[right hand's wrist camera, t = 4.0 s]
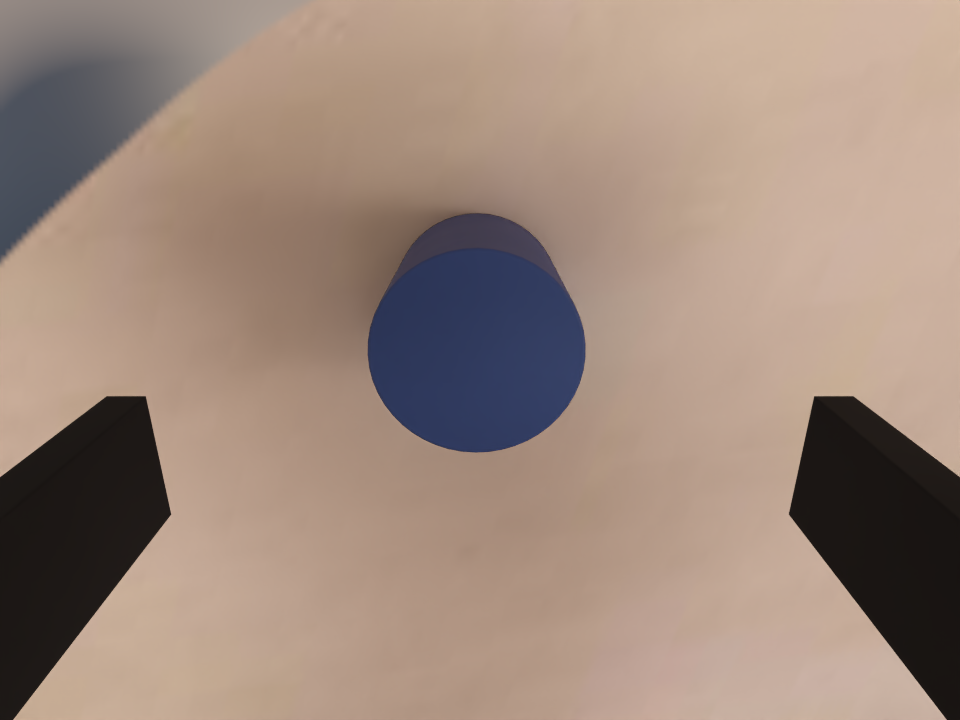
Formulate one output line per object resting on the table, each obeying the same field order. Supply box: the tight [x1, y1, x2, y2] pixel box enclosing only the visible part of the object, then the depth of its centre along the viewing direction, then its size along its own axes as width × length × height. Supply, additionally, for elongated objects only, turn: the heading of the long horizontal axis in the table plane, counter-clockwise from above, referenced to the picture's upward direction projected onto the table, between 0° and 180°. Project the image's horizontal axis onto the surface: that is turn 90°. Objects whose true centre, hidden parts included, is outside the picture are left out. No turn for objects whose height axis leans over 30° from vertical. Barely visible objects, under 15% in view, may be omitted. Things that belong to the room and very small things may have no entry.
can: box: [368, 214, 585, 452], centre depth 22 cm, size 6×6×7 cm
